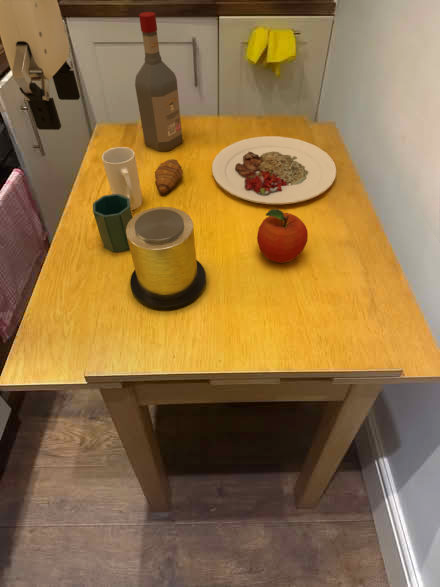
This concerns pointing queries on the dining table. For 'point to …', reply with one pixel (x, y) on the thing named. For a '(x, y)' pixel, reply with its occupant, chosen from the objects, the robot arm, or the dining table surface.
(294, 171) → the plated food
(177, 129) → the liquor
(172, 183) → the croissant
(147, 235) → the towel holder
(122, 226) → the teal cup
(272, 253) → the fruit
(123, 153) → the mug
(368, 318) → the dining table surface
